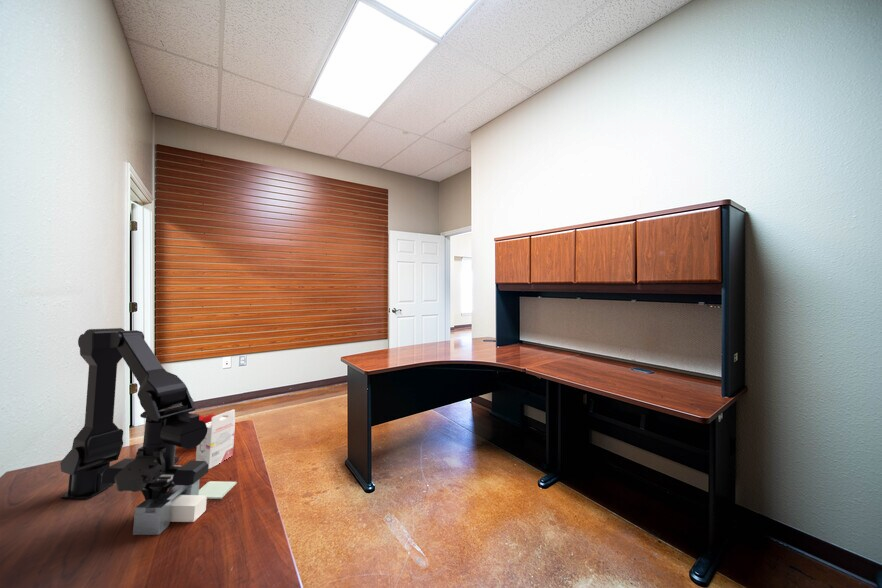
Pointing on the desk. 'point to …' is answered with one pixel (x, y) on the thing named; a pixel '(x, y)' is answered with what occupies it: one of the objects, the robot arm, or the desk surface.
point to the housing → (159, 510)
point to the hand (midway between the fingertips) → (153, 510)
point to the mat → (216, 489)
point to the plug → (187, 508)
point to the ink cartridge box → (217, 440)
